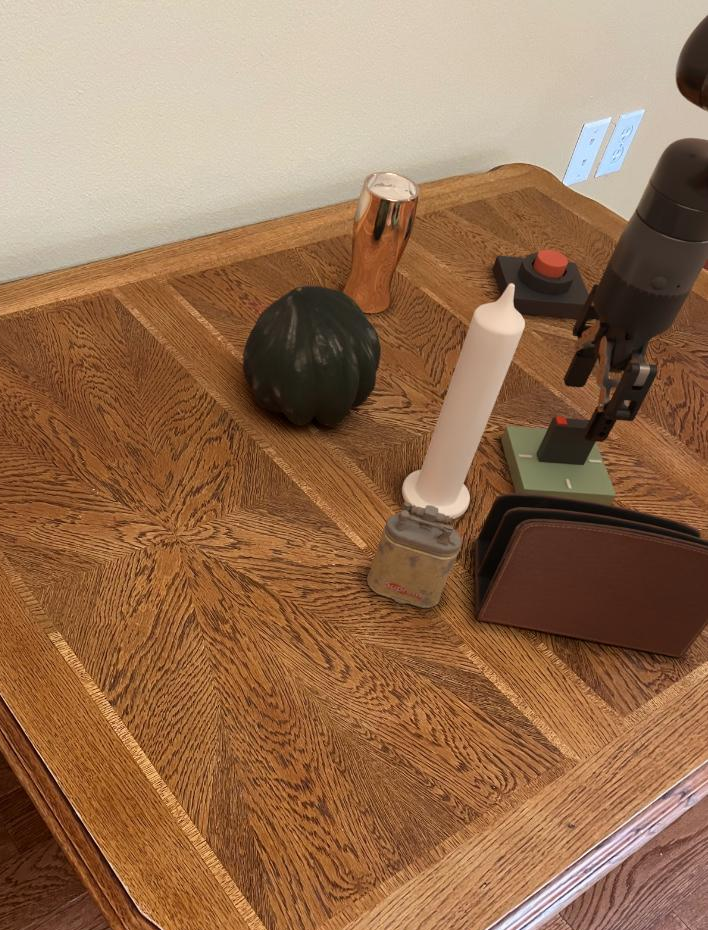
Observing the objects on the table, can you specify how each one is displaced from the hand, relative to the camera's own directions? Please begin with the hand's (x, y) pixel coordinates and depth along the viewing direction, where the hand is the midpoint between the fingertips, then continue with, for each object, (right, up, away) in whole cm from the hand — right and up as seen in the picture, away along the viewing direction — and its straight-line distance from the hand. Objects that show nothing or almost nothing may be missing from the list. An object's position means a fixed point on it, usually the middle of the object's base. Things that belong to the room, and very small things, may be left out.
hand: (582, 410), depth 96 cm
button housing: (+4, +21, +29) cm, 37 cm away
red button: (+5, +24, +27) cm, 36 cm away
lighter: (-19, -19, -6) cm, 28 cm away
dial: (-1, -4, +5) cm, 7 cm away
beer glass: (-19, +19, +24) cm, 36 cm away
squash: (-28, +3, +10) cm, 30 cm away
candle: (-15, -9, +2) cm, 17 cm away
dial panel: (-1, -5, +7) cm, 9 cm away
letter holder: (-3, -20, -5) cm, 20 cm away
